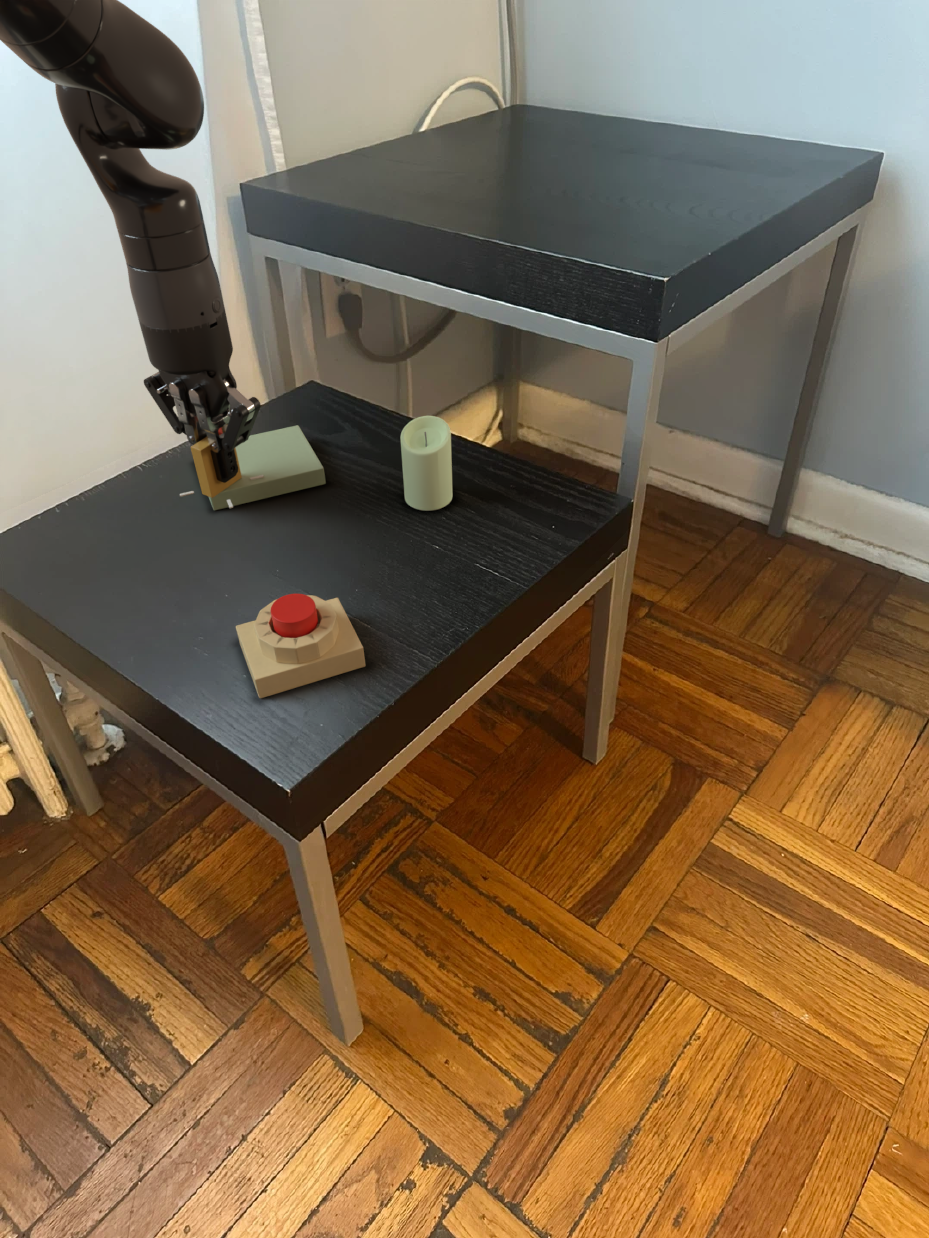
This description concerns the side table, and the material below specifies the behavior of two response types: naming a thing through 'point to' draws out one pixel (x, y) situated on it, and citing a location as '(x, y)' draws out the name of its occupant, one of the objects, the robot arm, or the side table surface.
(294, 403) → the side table surface
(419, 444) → the candle
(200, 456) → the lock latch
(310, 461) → the plate
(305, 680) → the button box
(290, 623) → the button
